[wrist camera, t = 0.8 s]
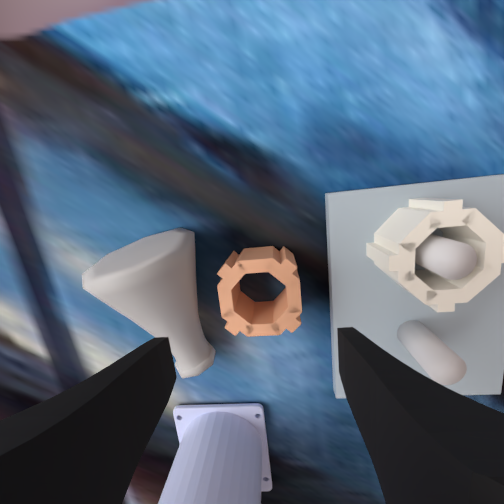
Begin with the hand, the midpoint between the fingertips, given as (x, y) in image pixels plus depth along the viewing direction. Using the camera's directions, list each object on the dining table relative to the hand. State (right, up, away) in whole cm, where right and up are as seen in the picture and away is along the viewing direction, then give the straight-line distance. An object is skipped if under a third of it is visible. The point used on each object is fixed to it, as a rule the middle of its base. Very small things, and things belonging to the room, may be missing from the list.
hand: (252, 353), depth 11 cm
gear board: (+12, +1, +8) cm, 14 cm away
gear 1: (+1, +2, +9) cm, 9 cm away
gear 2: (+11, +5, +6) cm, 13 cm away
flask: (-7, +5, +5) cm, 10 cm away
